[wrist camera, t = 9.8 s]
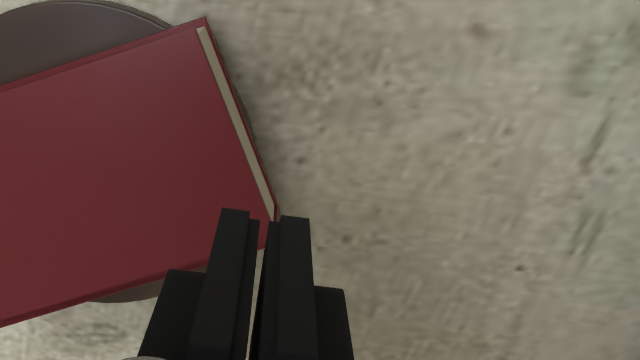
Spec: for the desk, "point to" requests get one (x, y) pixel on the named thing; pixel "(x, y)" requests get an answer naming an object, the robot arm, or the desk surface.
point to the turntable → (71, 44)
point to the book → (121, 171)
